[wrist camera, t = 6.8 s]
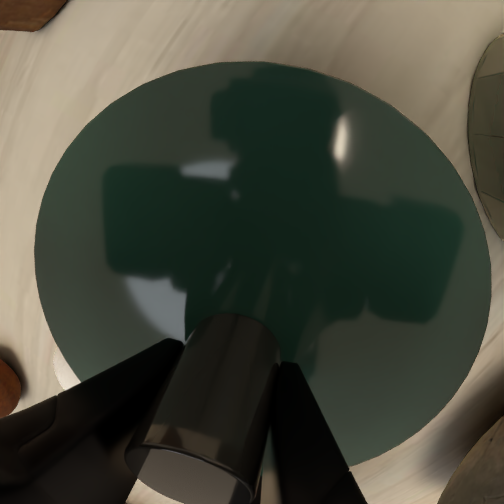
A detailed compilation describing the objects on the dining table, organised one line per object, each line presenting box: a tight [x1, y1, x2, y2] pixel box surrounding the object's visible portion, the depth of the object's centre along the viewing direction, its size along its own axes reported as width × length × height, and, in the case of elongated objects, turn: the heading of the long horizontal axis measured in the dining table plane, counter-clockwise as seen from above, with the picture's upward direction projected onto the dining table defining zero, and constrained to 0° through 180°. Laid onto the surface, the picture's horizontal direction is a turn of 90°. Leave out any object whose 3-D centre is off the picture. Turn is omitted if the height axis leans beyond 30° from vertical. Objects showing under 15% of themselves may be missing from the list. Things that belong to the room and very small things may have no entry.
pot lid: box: [34, 61, 491, 504], centre depth 7 cm, size 14×14×5 cm
